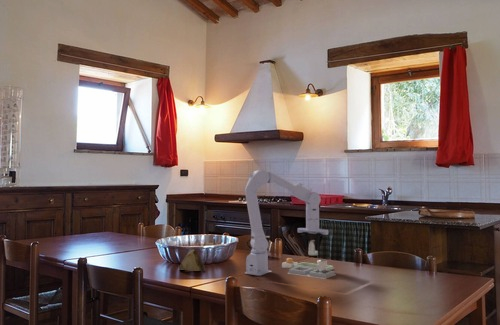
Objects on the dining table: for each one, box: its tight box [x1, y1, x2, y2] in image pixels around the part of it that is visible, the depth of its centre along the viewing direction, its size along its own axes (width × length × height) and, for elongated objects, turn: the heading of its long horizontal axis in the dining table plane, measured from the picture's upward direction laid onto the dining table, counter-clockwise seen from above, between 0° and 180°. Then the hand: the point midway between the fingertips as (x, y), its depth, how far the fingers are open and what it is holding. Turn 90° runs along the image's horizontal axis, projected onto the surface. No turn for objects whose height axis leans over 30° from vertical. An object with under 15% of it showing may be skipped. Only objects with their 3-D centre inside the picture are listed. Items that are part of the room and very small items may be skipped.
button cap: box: [286, 257, 294, 264], centre depth 207 cm, size 3×3×3 cm
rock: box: [178, 248, 206, 272], centre depth 204 cm, size 11×9×10 cm
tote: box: [293, 261, 334, 271], centre depth 202 cm, size 8×15×2 cm, turn 52°
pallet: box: [287, 266, 337, 280], centre depth 191 cm, size 10×18×2 cm, turn 52°
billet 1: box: [307, 239, 319, 256], centre depth 202 cm, size 4×4×6 cm
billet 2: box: [316, 259, 328, 274], centre depth 188 cm, size 4×4×6 cm
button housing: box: [281, 261, 298, 269], centre depth 207 cm, size 5×5×2 cm
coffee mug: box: [246, 235, 271, 252], centre depth 241 cm, size 12×9×10 cm
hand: (312, 250), depth 202 cm, fingers closed on billet 1, 4 cm apart
